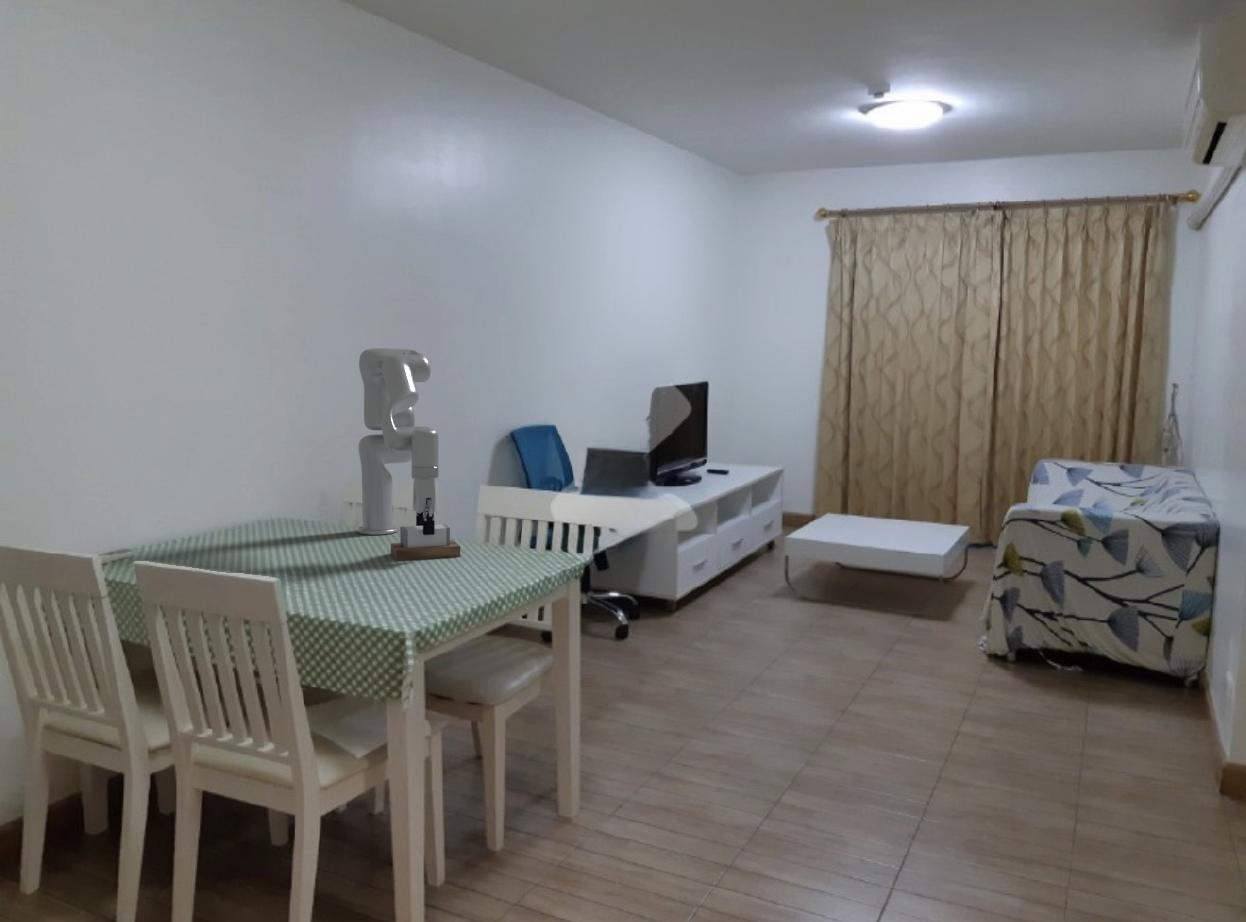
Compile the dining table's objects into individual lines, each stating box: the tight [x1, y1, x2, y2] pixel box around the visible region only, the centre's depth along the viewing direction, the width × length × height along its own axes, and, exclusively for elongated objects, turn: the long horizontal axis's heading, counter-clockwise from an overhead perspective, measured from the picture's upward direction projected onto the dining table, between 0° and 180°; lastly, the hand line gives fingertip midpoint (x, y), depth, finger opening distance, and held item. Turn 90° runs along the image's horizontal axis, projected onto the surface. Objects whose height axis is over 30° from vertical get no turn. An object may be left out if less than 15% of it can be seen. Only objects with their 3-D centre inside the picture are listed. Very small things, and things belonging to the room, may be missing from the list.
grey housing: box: [399, 524, 451, 548], centre depth 276 cm, size 6×13×5 cm, turn 113°
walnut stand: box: [390, 539, 461, 561], centre depth 276 cm, size 10×18×3 cm, turn 113°
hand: (425, 531), depth 275 cm, fingers open, 9 cm apart
